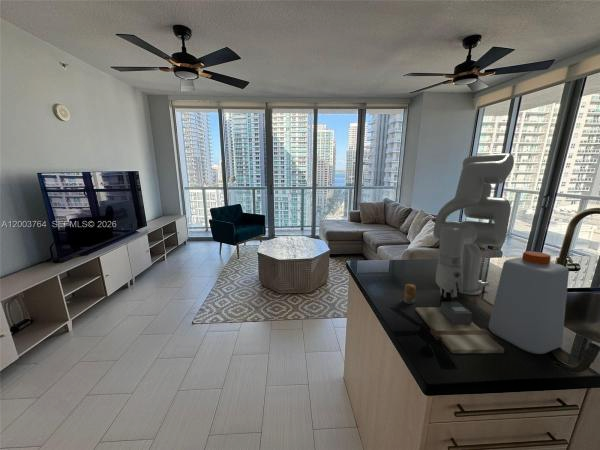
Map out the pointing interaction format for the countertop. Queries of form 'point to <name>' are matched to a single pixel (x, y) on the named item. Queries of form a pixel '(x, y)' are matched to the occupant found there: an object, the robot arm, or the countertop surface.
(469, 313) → the block
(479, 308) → the countertop surface
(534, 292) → the plastic bottle
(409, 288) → the orange brown cylinder
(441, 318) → the board
